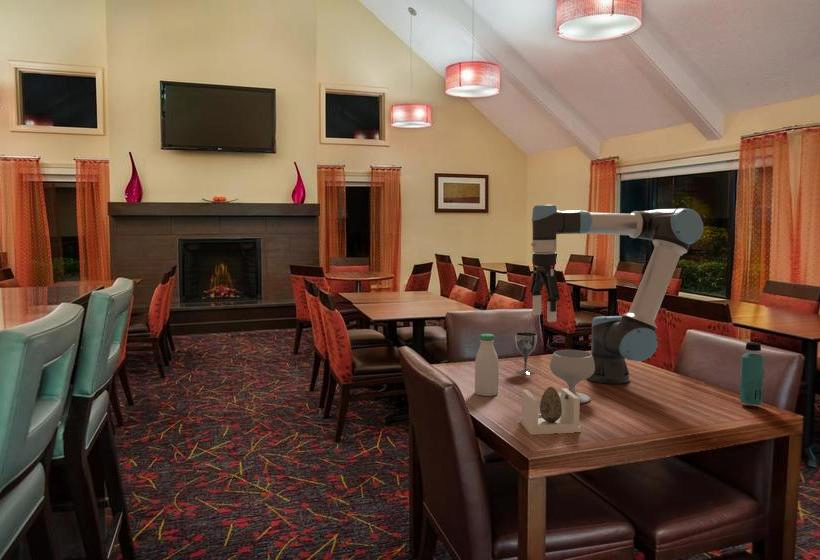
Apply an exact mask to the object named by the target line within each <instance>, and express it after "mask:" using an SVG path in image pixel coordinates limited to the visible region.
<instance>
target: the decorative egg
mask: <svg viewBox="0 0 820 560" xmlns="http://www.w3.org/2000/svg"><path fill="white" fill-rule="evenodd" d="M558 392H559V391H557V390H556V388H554V386H553V387H552V386H550V387H547V388H546V389H545V390H544V392H543V394H542V396H541V400H540V403H539V414H541V416H542V418H543V419H544V420H545V421H547V422H550V423H553V422H556V421H557V420H558V419H559V418H560V416H561V413H562V405H561V400H560V397H559V394H558Z"/></svg>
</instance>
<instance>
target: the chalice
mask: <svg viewBox="0 0 820 560" xmlns="http://www.w3.org/2000/svg"><path fill="white" fill-rule="evenodd" d="M549 368H550V371H551V373H552V374H553V375H555V376H556V377H557V378H559V379H561V380H563V381H564V383H566V384H567V386H568V390H569V391H570V392H572V393H573V394H574V395H576V396H577V397H578V398H580V404H586V403H589V402H591V401H592V398H591V397H590V396H589V395H588V394H585V393H583V392H582V393H581V392H577V391H575V389H576V386H577V384H579V383H580V382H582V381H584V380H588V379H587V378H589V377H590V376H592V375H593V373H594V371H595V363H594V359H593V357H592V355H591V352H589V351H585V350H580V349H579V350H578V349H559V350H556V351H554V352H553V353H552V356H551V358H550V363H549ZM557 392H558V394H559V397H560V400H561V391H560V392H559V391H557Z"/></svg>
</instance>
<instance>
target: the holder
mask: <svg viewBox="0 0 820 560" xmlns="http://www.w3.org/2000/svg"><path fill="white" fill-rule="evenodd" d="M560 390H561V391H560V392H561V405H562V413H561V416H560V418H559V419H558V420H557V421H556V422H553V423H550V422H547V421H545V420H544V419H543V418H542V416H541V413H539V405H540V403H539V399H538V398H537V397H536V395H534V394H533V393H531V391H530V390H529V389H522V391H521V393H522V394H521V397H522V398H521V416H520V417H519V423H520V424H521V425H522V427H523V428H524V429H525V430H526V431H527V432H528V434H530V435H532V436H533V435H555V434H554V433H558V434H575V433H574V432H581V433H582V431H581V430H582V427H581V426H580V407H581V406H580V404H581V403H580V398H578V397H577V396H576V395H574V394H573V393H572V392H570V391H569V388H564V387H563V388H561V389H560Z"/></svg>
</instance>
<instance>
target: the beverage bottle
mask: <svg viewBox="0 0 820 560" xmlns="http://www.w3.org/2000/svg"><path fill="white" fill-rule="evenodd" d="M745 350H746V351H752V352H745V353H743V354H742V355H741V360H740V361H741V362H740V363H741V364H740V365H741V366H740V378H739V388H738V389H739V390H738V391H739V394H738V395H739V396H738V397H739V398H738V399H739V401H740V402H741V403H743V404H746V405H754V406H757V405H762V404H763V402H764V388H765V387H764V378H765V377H764V376H765V357H764V356H763V355H762V354H761V353H758V352H760V351H761V350H762V345H761V343H759V342H752V341H751V342H750V341H749V342H746V344H745Z"/></svg>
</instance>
